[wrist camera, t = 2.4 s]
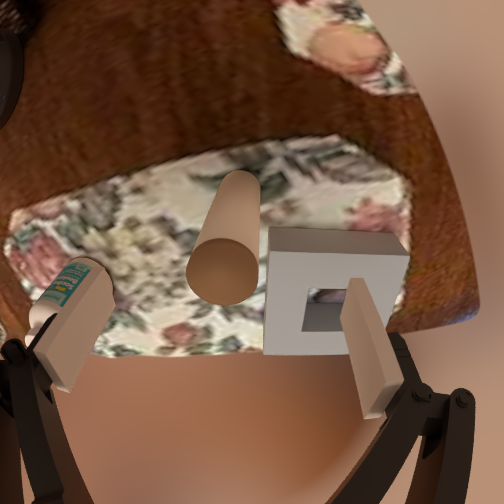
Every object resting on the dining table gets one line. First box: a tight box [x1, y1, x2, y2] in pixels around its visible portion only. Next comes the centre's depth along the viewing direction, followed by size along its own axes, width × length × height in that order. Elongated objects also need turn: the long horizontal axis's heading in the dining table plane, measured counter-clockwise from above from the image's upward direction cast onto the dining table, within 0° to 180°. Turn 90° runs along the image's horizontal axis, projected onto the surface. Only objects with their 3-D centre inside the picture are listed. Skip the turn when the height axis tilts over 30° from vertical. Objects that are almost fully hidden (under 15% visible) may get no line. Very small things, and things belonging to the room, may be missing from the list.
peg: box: [186, 170, 260, 305], centre depth 23 cm, size 4×4×15 cm
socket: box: [263, 227, 410, 355], centre depth 33 cm, size 14×14×5 cm
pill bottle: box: [25, 258, 113, 347], centre depth 30 cm, size 8×7×14 cm
